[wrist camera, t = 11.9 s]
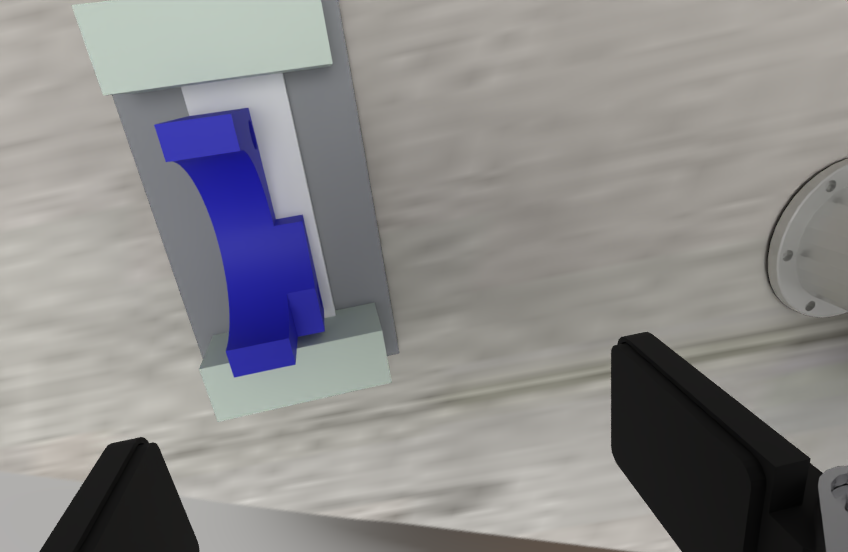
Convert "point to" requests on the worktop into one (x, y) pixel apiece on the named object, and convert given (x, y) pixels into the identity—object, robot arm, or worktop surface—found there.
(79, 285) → the worktop surface
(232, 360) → the cable clip
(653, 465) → the robot arm
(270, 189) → the board
